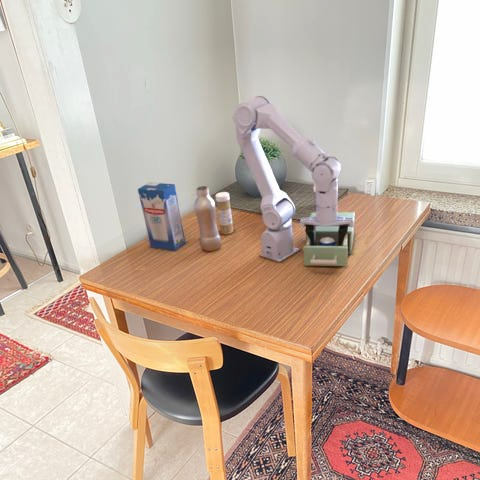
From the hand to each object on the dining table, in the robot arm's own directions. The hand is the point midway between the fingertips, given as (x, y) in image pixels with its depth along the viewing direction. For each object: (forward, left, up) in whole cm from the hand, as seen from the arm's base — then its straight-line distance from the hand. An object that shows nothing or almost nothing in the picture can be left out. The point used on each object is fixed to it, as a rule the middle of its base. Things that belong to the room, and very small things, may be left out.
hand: (327, 249), depth 139 cm
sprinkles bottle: (-1, +41, -4) cm, 41 cm away
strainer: (+35, +27, -4) cm, 44 cm away
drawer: (-1, 0, -3) cm, 3 cm away
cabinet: (+10, +6, -3) cm, 12 cm away
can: (0, 0, -2) cm, 2 cm away
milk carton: (-19, +51, -4) cm, 54 cm away
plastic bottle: (-13, +36, -4) cm, 38 cm away
